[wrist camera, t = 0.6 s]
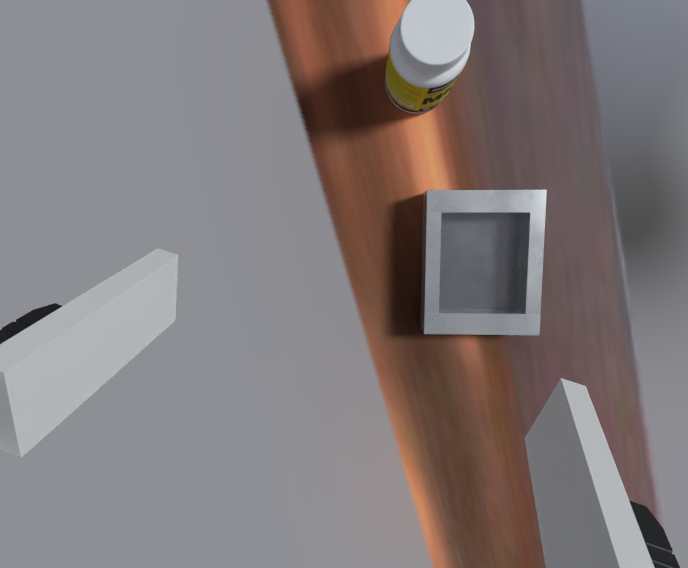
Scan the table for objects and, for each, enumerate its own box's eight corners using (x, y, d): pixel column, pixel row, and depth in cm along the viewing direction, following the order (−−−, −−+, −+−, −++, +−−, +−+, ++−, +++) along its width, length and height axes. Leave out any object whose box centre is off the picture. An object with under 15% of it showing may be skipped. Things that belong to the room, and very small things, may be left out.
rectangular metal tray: (422, 193, 33) (427, 190, 30) (532, 193, 32) (546, 189, 30) (419, 326, 34) (424, 334, 31) (526, 327, 34) (539, 335, 31)
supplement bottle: (420, 128, 32) (439, 92, 24) (370, 85, 32) (373, 33, 24) (464, 75, 32) (500, 19, 23) (415, 31, 32) (433, -42, 23)
